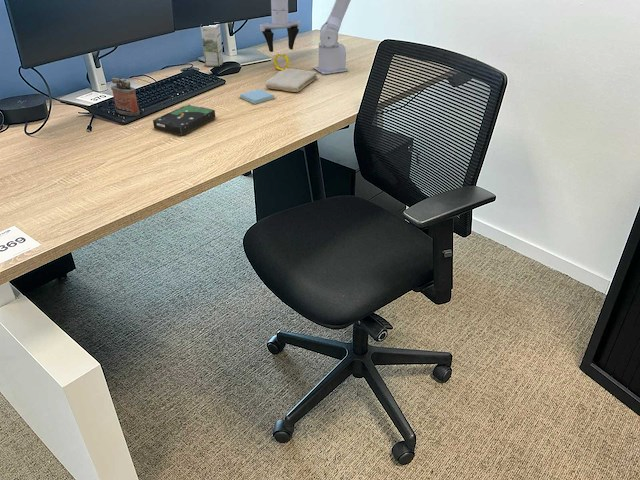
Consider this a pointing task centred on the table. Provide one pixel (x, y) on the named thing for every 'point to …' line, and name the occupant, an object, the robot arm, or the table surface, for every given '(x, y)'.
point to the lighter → (125, 97)
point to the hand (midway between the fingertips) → (281, 50)
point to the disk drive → (184, 119)
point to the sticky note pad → (257, 96)
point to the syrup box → (212, 45)
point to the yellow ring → (284, 57)
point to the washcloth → (291, 80)
